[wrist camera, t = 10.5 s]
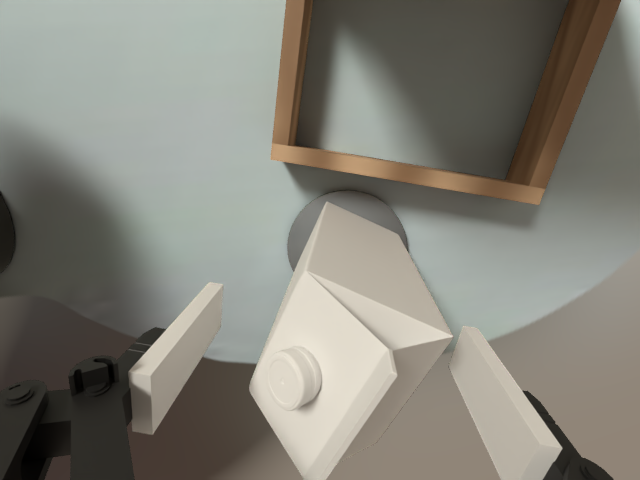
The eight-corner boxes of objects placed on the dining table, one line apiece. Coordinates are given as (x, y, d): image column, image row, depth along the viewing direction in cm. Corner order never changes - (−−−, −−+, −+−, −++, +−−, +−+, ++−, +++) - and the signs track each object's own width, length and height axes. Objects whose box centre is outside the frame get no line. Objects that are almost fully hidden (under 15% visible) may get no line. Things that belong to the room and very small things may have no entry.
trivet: (282, 289, 31) (281, 292, 30) (296, 180, 27) (295, 181, 26) (390, 309, 30) (391, 312, 30) (419, 201, 27) (420, 203, 26)
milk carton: (398, 233, 27) (500, 418, 9) (362, 296, 29) (387, 543, 11) (326, 200, 27) (284, 325, 9) (295, 266, 29) (212, 474, 11)
